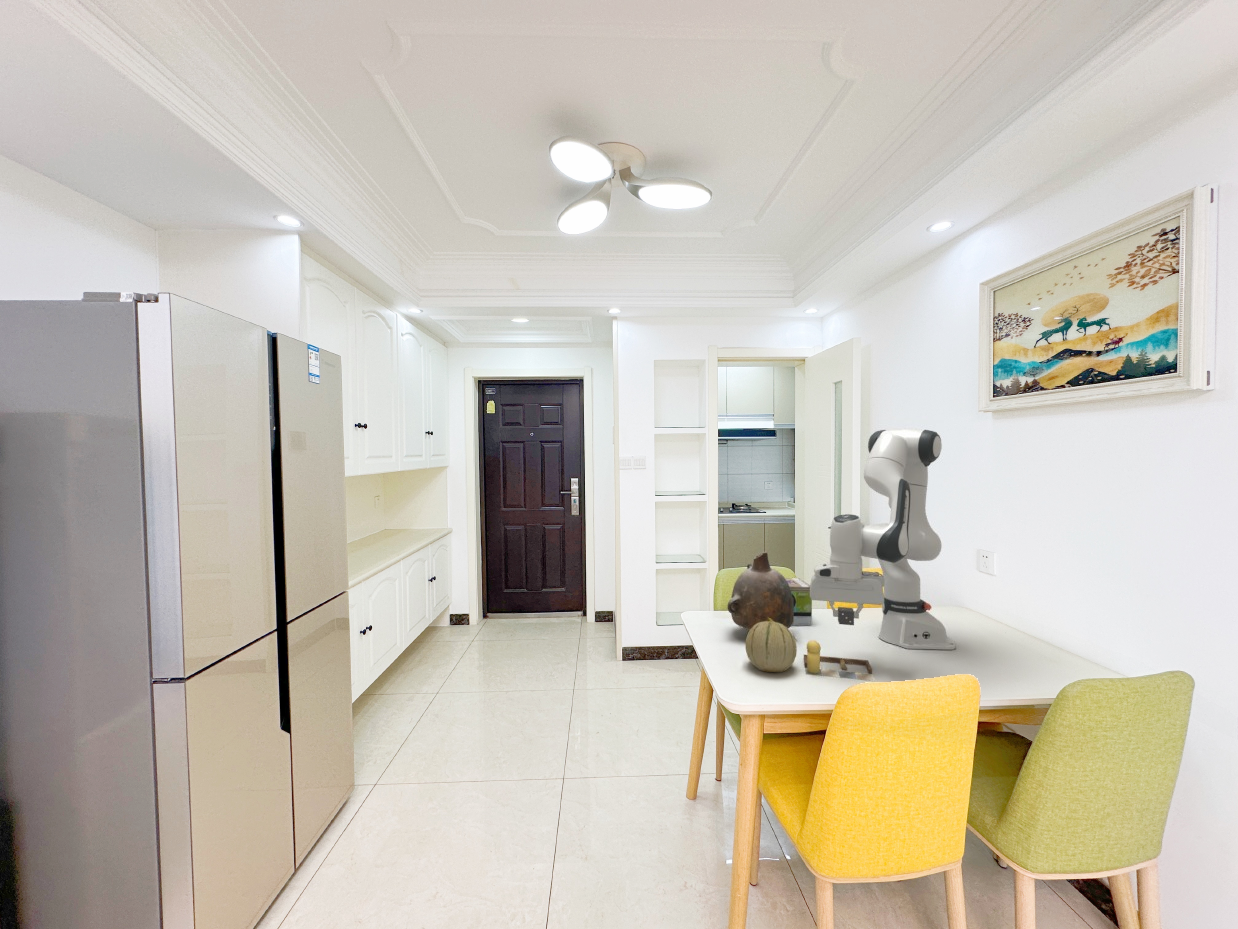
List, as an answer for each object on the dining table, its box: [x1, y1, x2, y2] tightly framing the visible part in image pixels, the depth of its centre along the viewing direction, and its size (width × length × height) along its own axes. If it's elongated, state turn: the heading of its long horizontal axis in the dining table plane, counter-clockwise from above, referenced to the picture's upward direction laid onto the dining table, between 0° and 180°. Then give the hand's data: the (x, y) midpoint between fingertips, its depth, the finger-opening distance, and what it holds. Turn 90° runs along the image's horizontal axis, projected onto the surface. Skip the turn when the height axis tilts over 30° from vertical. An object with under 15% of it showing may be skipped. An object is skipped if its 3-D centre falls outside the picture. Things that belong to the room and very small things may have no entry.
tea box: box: [784, 577, 813, 626], centre depth 207 cm, size 15×10×15 cm, turn 179°
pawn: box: [806, 640, 822, 674], centre depth 154 cm, size 4×4×9 cm
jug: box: [727, 551, 796, 631], centre depth 188 cm, size 24×21×30 cm
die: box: [837, 606, 855, 626], centre depth 158 cm, size 4×4×4 cm
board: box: [803, 654, 875, 682], centre depth 156 cm, size 18×12×2 cm, turn 73°
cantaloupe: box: [745, 618, 798, 673], centre depth 158 cm, size 15×15×15 cm
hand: (845, 617), depth 158 cm, fingers closed on die, 4 cm apart
